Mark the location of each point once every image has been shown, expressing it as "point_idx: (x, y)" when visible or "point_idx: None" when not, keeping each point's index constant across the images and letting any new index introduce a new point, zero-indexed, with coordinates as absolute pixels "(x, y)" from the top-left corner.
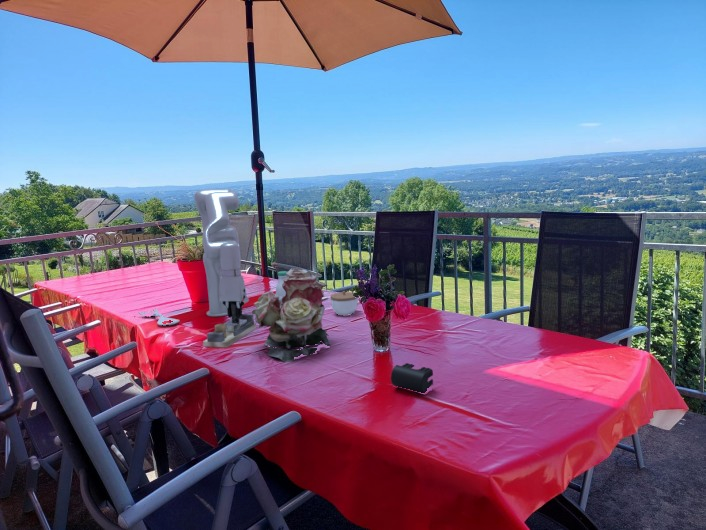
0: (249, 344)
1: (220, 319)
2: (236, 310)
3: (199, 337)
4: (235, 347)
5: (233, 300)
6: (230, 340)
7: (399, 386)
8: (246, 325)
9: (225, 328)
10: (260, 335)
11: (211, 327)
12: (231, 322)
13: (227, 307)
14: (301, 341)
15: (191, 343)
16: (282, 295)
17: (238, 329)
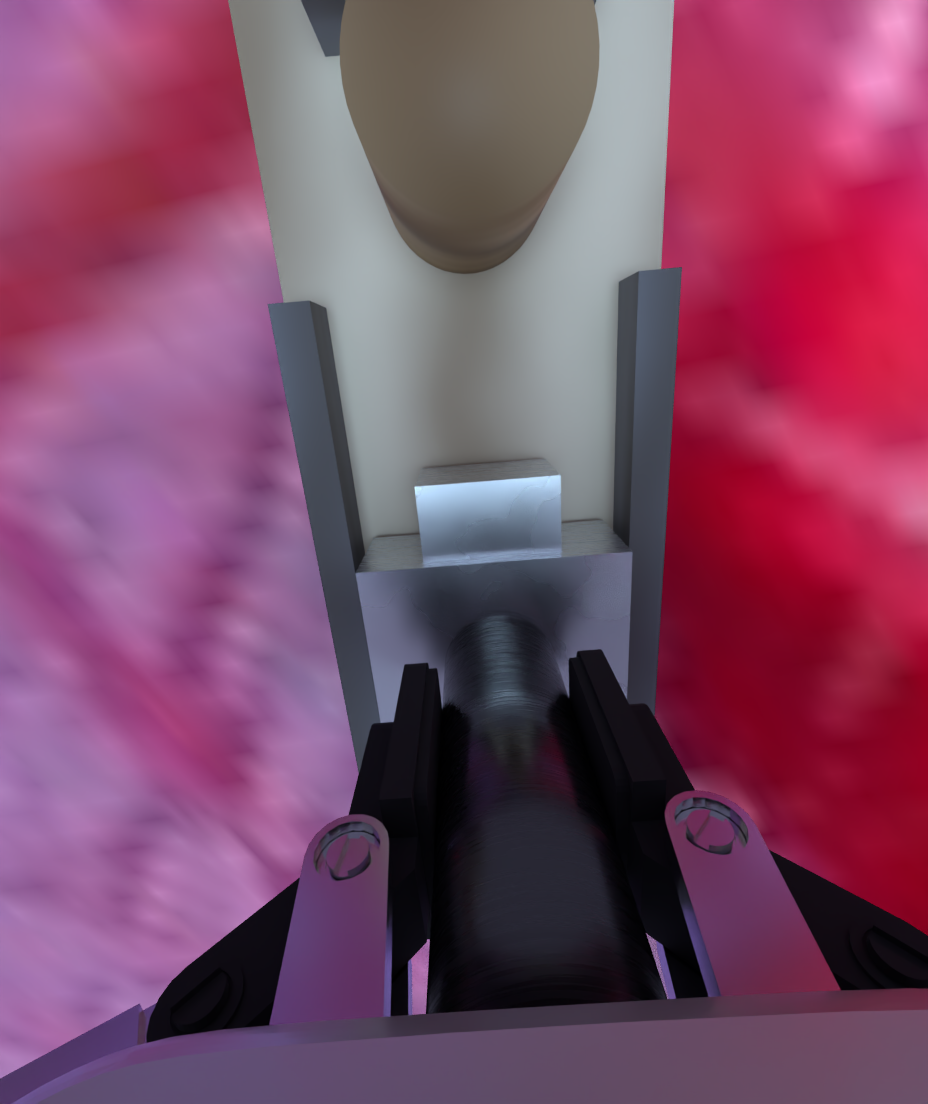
0: (44, 222)
1: (888, 911)
2: (413, 758)
3: (888, 357)
4: (133, 36)
5: (379, 1064)
6: (249, 105)
7: None
8: (333, 641)
9: (364, 151)
10: (171, 572)
11: (884, 706)
12: (533, 606)
13: (693, 815)
14: None
15: (904, 67)
16: None
17: (319, 450)
